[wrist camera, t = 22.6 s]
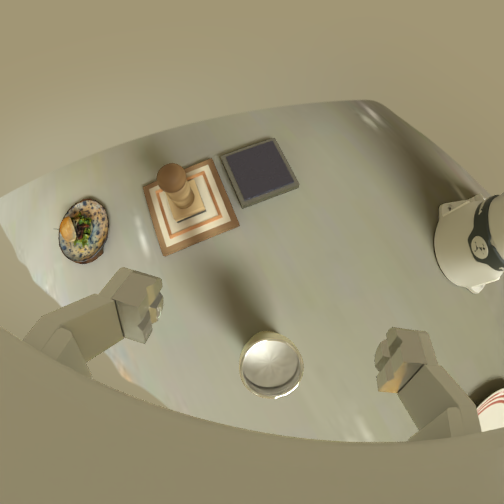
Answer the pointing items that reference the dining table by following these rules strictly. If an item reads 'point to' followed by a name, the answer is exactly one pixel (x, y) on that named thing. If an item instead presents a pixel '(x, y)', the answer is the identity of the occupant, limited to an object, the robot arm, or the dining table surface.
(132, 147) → the dining table surface
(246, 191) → the ink pad
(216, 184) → the board
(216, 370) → the dining table surface
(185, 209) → the stamp
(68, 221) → the plate of salad
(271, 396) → the beer glass
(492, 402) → the dinner plate
